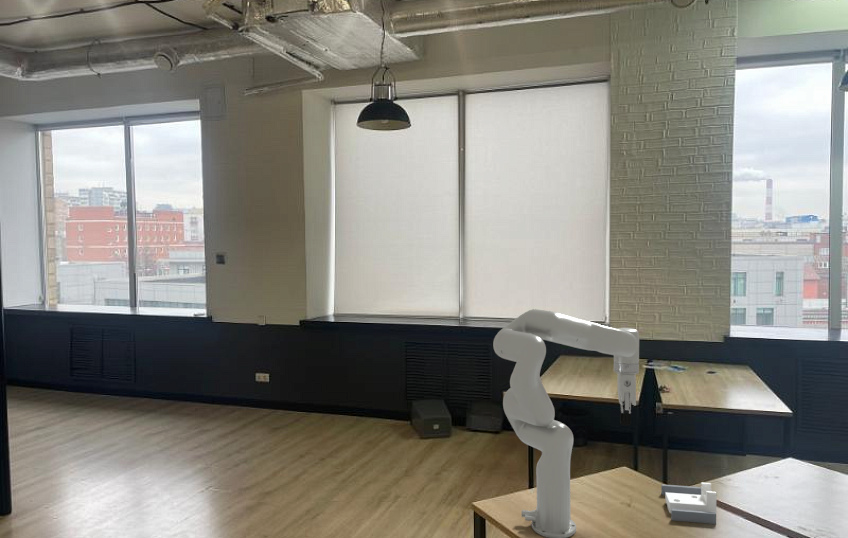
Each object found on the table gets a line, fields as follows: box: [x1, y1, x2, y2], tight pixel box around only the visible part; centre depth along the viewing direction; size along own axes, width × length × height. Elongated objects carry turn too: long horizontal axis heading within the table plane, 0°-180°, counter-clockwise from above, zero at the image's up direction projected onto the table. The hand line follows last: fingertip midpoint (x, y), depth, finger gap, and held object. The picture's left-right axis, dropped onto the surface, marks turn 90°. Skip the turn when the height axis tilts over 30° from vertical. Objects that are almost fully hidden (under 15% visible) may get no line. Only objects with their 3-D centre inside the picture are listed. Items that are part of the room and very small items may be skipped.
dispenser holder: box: [661, 483, 717, 525], centre depth 176 cm, size 12×18×3 cm, turn 167°
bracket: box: [664, 481, 717, 514], centre depth 175 cm, size 13×7×8 cm, turn 77°
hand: (625, 424), depth 182 cm, fingers closed
